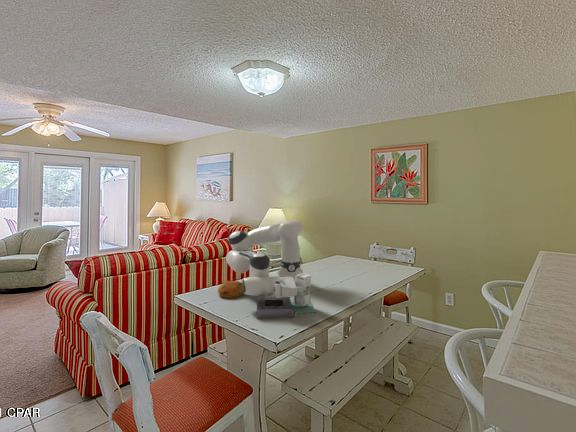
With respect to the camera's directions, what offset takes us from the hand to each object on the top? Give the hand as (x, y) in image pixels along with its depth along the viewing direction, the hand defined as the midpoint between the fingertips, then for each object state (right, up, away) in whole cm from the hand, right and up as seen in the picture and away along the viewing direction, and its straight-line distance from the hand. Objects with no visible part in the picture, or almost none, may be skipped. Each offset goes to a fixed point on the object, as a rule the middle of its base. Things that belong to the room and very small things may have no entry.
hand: (304, 285), depth 148 cm
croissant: (-39, -9, +19) cm, 45 cm away
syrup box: (-1, -9, +1) cm, 10 cm away
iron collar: (-15, -11, -4) cm, 19 cm away
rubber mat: (-1, -11, +1) cm, 11 cm away
